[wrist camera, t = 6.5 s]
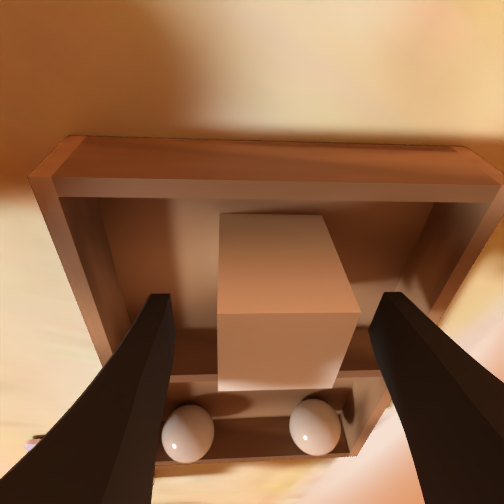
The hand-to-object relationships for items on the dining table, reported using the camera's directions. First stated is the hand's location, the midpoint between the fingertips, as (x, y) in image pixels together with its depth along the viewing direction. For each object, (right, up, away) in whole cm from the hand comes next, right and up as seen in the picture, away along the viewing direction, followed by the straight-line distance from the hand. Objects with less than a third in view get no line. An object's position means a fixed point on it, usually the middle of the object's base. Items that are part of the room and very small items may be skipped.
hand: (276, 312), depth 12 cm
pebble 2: (+3, -8, +11) cm, 14 cm away
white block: (0, +2, +3) cm, 3 cm away
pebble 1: (-5, -8, +11) cm, 14 cm away
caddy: (-1, -2, +6) cm, 7 cm away
